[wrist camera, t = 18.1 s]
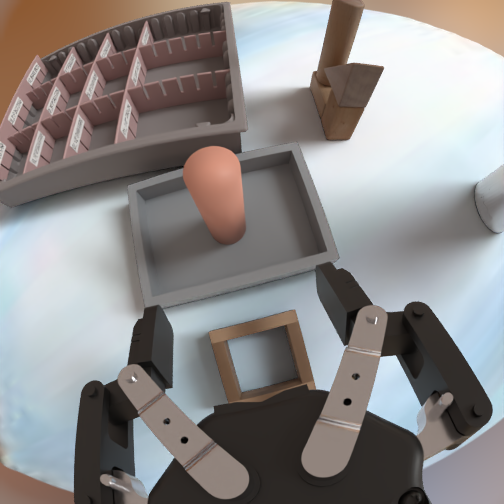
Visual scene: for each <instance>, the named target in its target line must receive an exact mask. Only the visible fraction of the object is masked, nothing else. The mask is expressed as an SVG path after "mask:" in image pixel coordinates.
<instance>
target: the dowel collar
mask: <svg viewBox="0 0 504 504" xmlns="http://www.w3.org/2000/svg"><path fill="white" fill-rule="evenodd" d="M283 325H284V327H285V331H286V334H287V338H288V342H289V346H290V349H291V353H292V357H293V361H294V364H295V368H296V372H297V376H298V378H296V379H292V380H289V381H285V382H282V383H278V384H274V385H270V386H267V387H263V388H259V389H254V390H250V391H246V392H241V389H240V386H239V382H238V379H237V375H236V372H235V368H234V365H233V361H232V358H231V354H230V350H229V347H228V343H227V340H229V339H234V338H238V337H242V336H246V335H250V334H254V333H257V332H261V331H265V330H269V329H272V328H276V327H280V326H283ZM209 336H210V340H211V343H212V347H213V351H214V355H215V358H216V362H217V365H218V369H219V372H220V376H221V379H222V383H223V386H224V389H225V393H226V396H227V399H228V402H229V403H233V402H262V401H264V400H266V399H268V398H270V397H272V396H274V395H276V394H278V393H280V392H282V391H284V390H287V389H291V388H295V387H298V386H301V385H305V384H307V386H308V389H309V390H313V389H314V390H316V387H315V383H314V379H313V375H312V371H311V367H310V363H309V359H308V356H307V352H306V348H305V344H304V340H303V337H302V333H301V329H300V326H299V322H298V318H297V314H296V311H295V310H290V311H286V312H283V313H279V314H275V315H272V316H268V317H264V318H261V319H257V320H253V321H249V322H245V323H241V324H237V325H233V326H229V327H225V328H221V329H217V330H213V331H210V332H209Z"/></svg>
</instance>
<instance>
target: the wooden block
mask: <svg viewBox="0 0 504 504" xmlns="http://www.w3.org/2000/svg"><path fill="white" fill-rule="evenodd" d="M363 9H364V3H363V2H362V1H361V0H333V1H332V6H331V11H330V15H329V20H328V25H327V29H326V34H325V38H324V43H323V48H322V52H321V56H320V61H319V65H318V70H317V71H314V72H313V74H312V79H311V84H310V88H311V91H312V94H313V97H314V100H315V103H316V106H317V109H318V112H319V116H320V118H321V119H322V120H321V122H322V125H323V129H324V132H325V136H326V138H327V139H328V140H348V139H350V138H351V136H352V134H353V132H354V130H355V128H356V126H357V124H358V122H359V119H360V117H361V115H362V113H363V111H364V107H366V106H367V104H368V101H369V99H370V97H371V95H372V93H373V91H374V89H375V87H376V85H377V82H378V80H379V78H380V76H381V74H382V72H383V70H384V67H383V66H376V65H369V64H361V63H350V64H347V61H348V58H349V55H350V51H351V48H352V45H353V42H354V39H355V36H356V32H357V29H358V26H359V23H360V19H361V16H362V13H363Z"/></svg>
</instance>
